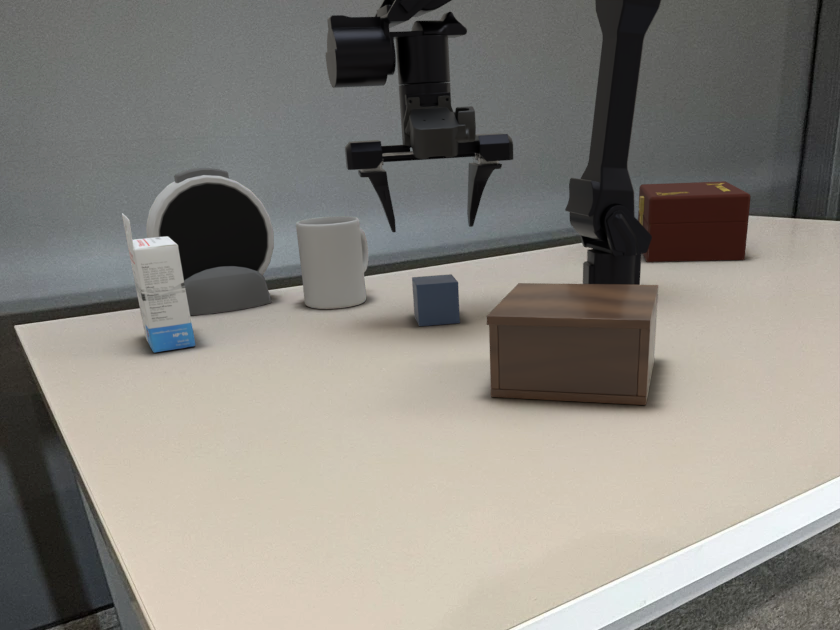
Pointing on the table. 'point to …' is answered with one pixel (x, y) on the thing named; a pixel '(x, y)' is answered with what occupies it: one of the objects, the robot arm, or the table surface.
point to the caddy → (572, 363)
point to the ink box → (160, 291)
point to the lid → (577, 306)
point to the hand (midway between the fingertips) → (432, 229)
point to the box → (694, 221)
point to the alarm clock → (216, 239)
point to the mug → (332, 261)
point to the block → (436, 300)
